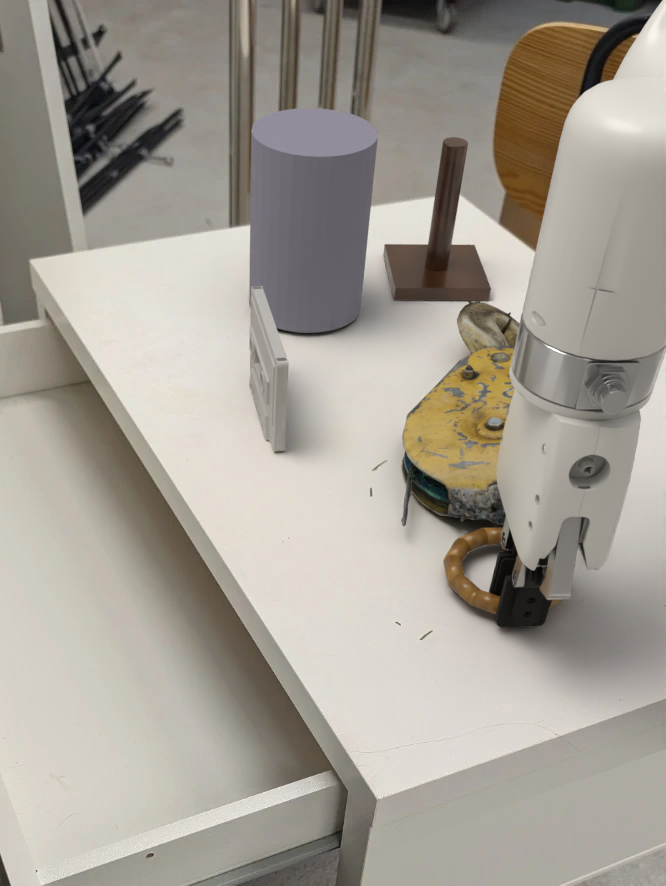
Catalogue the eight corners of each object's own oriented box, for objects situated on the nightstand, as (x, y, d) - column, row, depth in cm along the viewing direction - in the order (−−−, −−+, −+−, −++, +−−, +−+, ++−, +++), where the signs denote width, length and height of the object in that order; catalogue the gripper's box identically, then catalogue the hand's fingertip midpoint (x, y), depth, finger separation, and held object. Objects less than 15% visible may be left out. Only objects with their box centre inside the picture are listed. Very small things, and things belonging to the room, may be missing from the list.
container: (340, 345, 90) (355, 165, 79) (232, 322, 92) (232, 143, 81) (374, 293, 97) (393, 119, 85) (272, 272, 99) (277, 100, 87)
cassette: (291, 452, 80) (295, 362, 74) (267, 454, 79) (270, 364, 74) (265, 370, 87) (267, 283, 81) (243, 372, 87) (244, 284, 81)
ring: (552, 536, 73) (556, 523, 72) (580, 618, 67) (585, 605, 66) (435, 538, 72) (437, 524, 72) (454, 620, 67) (456, 607, 66)
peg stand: (472, 256, 102) (496, 122, 93) (488, 300, 96) (516, 162, 87) (383, 256, 102) (398, 121, 92) (394, 300, 96) (411, 161, 87)
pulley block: (591, 276, 86) (601, 491, 67) (584, 341, 90) (592, 561, 71) (422, 283, 89) (385, 491, 70) (423, 346, 93) (388, 557, 74)
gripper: (704, 443, 49) (601, 699, 63) (618, 283, 59) (545, 534, 73) (548, 444, 48) (479, 701, 62) (488, 284, 59) (441, 535, 73)
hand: (515, 610), depth 68 cm, fingers closed on ring, 1 cm apart
